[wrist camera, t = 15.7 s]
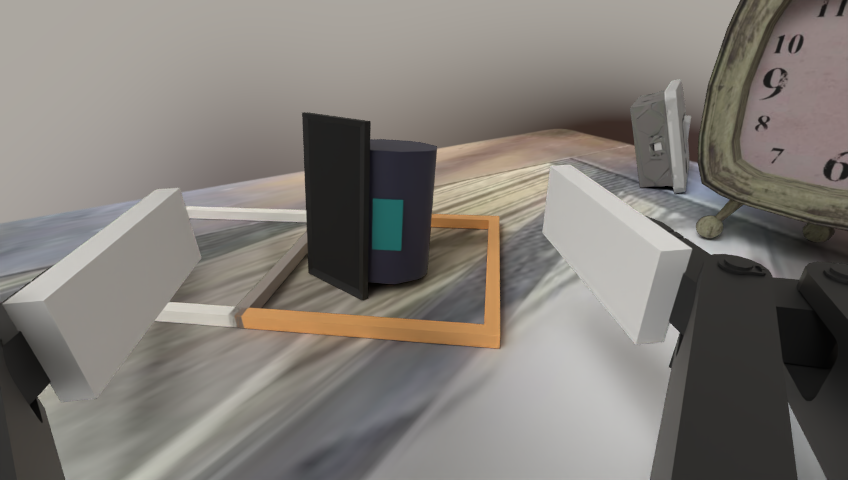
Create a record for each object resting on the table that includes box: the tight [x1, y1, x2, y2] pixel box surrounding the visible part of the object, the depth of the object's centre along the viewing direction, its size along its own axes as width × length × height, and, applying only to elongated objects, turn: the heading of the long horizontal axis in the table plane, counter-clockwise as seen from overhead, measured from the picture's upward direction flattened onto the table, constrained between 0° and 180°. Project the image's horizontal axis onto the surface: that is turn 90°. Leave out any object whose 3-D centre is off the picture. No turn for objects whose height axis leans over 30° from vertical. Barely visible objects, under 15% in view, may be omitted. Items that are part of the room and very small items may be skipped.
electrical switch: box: [630, 80, 691, 194], centre depth 41 cm, size 9×5×9 cm, turn 149°
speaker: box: [302, 113, 437, 300], centre depth 25 cm, size 8×6×10 cm
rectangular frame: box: [155, 206, 500, 348], centre depth 29 cm, size 28×15×1 cm, turn 81°
